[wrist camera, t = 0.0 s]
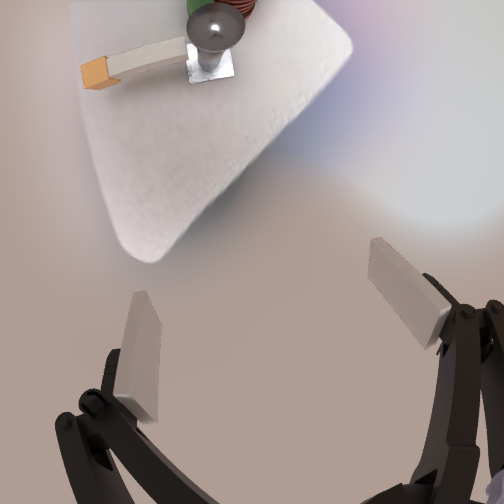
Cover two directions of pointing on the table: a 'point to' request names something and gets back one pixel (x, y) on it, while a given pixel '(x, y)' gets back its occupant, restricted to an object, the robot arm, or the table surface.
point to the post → (212, 41)
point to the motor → (243, 3)
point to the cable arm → (133, 63)
